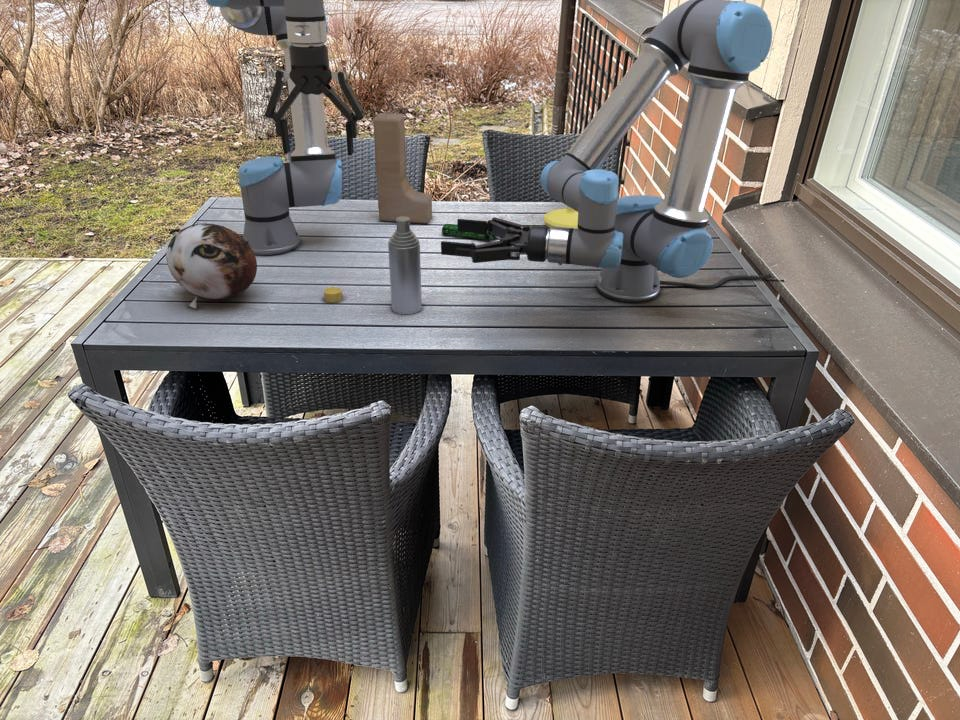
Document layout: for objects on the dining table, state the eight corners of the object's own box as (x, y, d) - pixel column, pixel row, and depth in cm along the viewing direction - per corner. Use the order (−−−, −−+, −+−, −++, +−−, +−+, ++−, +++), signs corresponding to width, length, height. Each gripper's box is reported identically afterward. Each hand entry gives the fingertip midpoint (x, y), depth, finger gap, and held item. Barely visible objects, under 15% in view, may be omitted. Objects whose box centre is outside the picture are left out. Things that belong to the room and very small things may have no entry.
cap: (330, 304, 166) (329, 296, 165) (321, 298, 169) (320, 290, 168) (345, 299, 169) (345, 290, 168) (336, 293, 171) (335, 285, 170)
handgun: (511, 219, 210) (493, 234, 198) (511, 228, 211) (492, 244, 199) (461, 212, 215) (440, 226, 203) (461, 221, 217) (440, 236, 204)
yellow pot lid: (559, 216, 220) (561, 193, 217) (605, 227, 212) (608, 204, 209) (532, 230, 209) (533, 207, 206) (580, 242, 201) (582, 218, 198)
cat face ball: (130, 285, 161) (164, 203, 163) (192, 308, 177) (221, 233, 178) (195, 307, 151) (229, 220, 152) (254, 330, 166) (285, 250, 168)
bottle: (389, 313, 163) (383, 223, 152) (394, 300, 169) (389, 212, 158) (419, 315, 162) (416, 224, 151) (423, 301, 168) (421, 213, 157)
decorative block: (427, 224, 212) (425, 120, 197) (378, 221, 214) (372, 118, 199) (432, 215, 219) (430, 114, 204) (384, 213, 221) (379, 112, 205)
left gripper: (238, 45, 137) (255, 156, 148) (367, 48, 137) (374, 159, 148) (251, 40, 144) (265, 147, 155) (374, 43, 143) (380, 149, 154)
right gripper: (537, 285, 141) (434, 275, 145) (554, 239, 162) (464, 232, 166) (539, 250, 137) (433, 240, 142) (556, 207, 158) (463, 200, 162)
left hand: (318, 153), depth 151 cm, fingers open, 13 cm apart
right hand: (449, 236), depth 154 cm, fingers open, 13 cm apart
